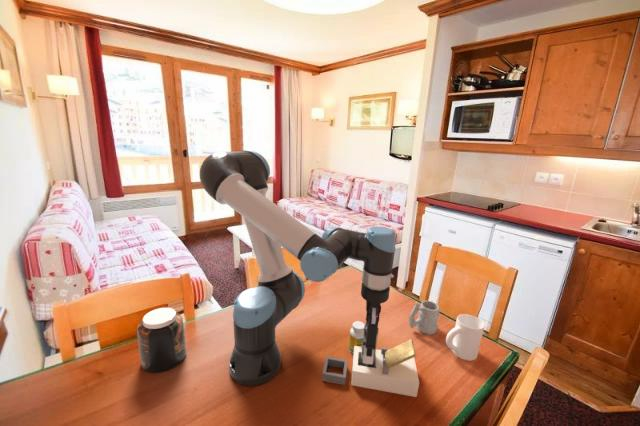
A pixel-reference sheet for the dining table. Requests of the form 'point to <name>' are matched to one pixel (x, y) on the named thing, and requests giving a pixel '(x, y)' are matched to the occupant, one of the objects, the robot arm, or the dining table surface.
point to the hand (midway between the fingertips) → (367, 354)
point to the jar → (161, 340)
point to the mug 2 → (466, 337)
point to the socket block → (385, 375)
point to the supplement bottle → (356, 335)
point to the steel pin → (363, 349)
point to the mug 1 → (425, 317)
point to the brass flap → (399, 354)
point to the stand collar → (332, 376)
